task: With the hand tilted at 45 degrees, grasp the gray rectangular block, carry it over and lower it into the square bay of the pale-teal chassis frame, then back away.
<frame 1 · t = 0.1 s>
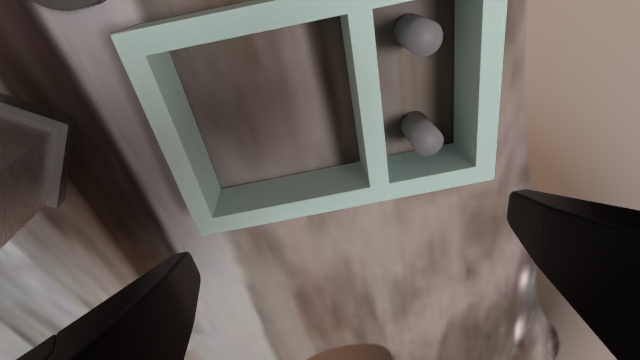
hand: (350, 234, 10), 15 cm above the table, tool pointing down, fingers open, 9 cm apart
chassis frame: (273, 108, 23), on the table
gray rectangular block: (13, 144, 23), on the table
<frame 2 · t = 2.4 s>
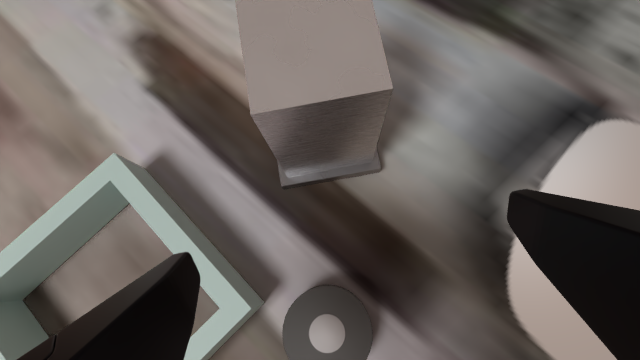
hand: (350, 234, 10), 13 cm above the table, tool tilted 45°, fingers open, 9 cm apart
loose wheel: (328, 327, 22), on the table
chassis frame: (128, 301, 23), on the table
gray rectangular block: (323, 135, 25), on the table
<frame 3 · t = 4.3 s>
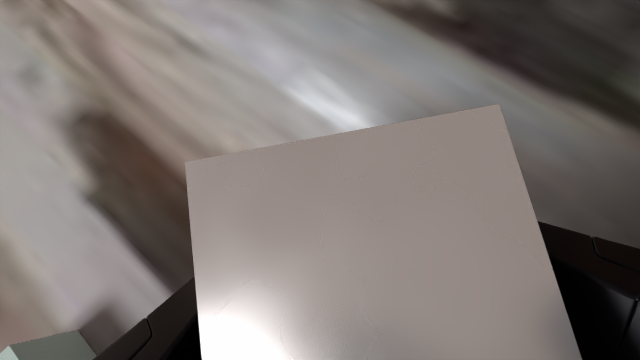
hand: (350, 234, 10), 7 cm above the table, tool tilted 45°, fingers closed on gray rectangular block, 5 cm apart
gray rectangular block: (353, 280, 16), on the table, touching gripper
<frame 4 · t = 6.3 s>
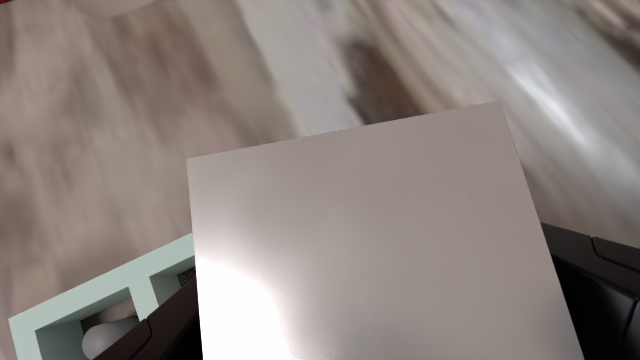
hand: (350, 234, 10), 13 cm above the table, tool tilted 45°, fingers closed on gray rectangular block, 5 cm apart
chassis frame: (279, 315, 22), on the table
gray rectangular block: (354, 279, 16), point 7 cm above the table, touching gripper
when the fingers open (8 cm above the table, at t = 8.1 s): gray rectangular block drops 1 cm, resting in chassis frame.
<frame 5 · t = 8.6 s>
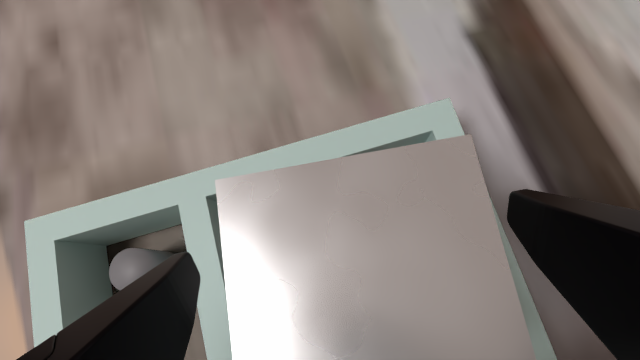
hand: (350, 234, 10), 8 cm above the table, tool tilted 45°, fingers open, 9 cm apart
chassis frame: (352, 279, 18), on the table
gray rectangular block: (352, 279, 18), resting in chassis frame
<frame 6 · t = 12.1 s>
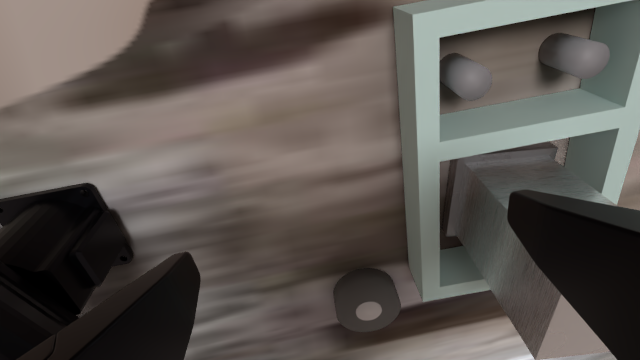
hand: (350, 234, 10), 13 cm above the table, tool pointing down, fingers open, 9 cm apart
loose wheel: (363, 290, 30), on the table
chassis frame: (492, 187, 26), on the table
gray rectangular block: (491, 187, 26), resting in chassis frame
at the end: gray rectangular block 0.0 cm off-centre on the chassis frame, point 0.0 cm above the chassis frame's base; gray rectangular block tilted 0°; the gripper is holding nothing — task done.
